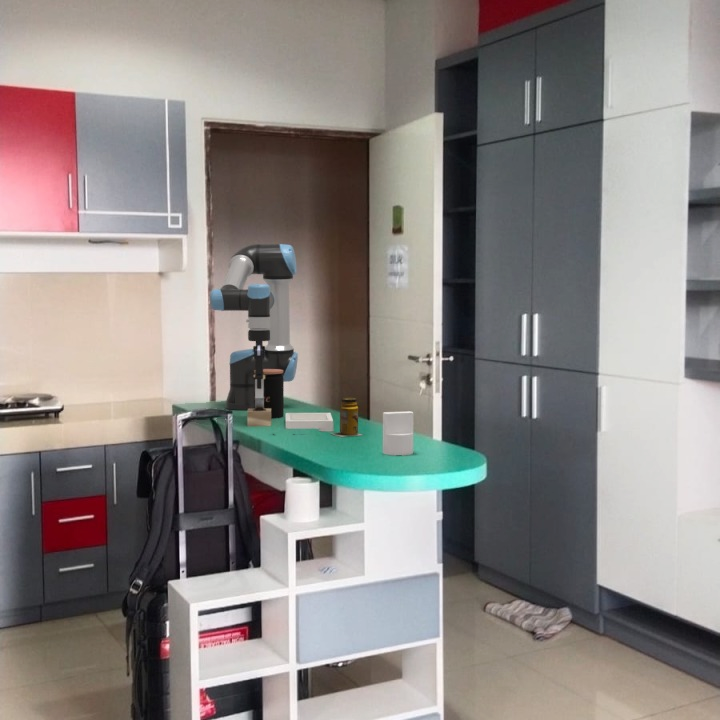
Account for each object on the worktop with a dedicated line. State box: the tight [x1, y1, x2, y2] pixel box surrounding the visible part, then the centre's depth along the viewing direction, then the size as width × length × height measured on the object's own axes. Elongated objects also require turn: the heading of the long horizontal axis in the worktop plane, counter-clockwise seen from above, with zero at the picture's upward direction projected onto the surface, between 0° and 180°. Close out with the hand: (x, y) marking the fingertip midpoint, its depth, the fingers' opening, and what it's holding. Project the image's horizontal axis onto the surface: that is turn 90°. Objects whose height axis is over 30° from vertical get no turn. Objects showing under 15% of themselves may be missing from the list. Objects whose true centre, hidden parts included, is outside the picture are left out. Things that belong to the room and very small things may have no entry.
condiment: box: [330, 397, 363, 438], centre depth 314 cm, size 7×8×12 cm
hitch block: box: [246, 408, 272, 427], centre depth 328 cm, size 8×8×6 cm
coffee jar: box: [254, 369, 285, 420], centre depth 347 cm, size 11×11×18 cm
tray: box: [284, 412, 334, 432], centre depth 330 cm, size 20×16×4 cm
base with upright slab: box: [382, 410, 414, 456], centre depth 281 cm, size 9×9×12 cm
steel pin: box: [254, 375, 265, 411], centre depth 328 cm, size 4×4×15 cm
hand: (259, 396), depth 328 cm, fingers closed on steel pin, 4 cm apart
